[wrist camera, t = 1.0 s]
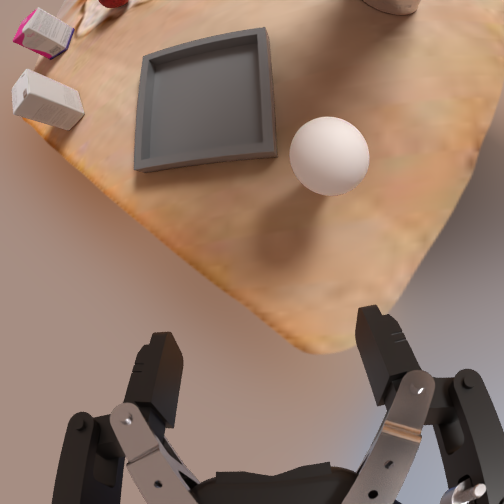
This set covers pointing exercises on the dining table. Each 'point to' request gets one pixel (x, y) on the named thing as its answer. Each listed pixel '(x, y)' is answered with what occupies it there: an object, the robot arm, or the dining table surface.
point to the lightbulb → (329, 156)
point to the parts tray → (206, 103)
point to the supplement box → (44, 34)
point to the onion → (113, 3)
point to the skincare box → (46, 101)
